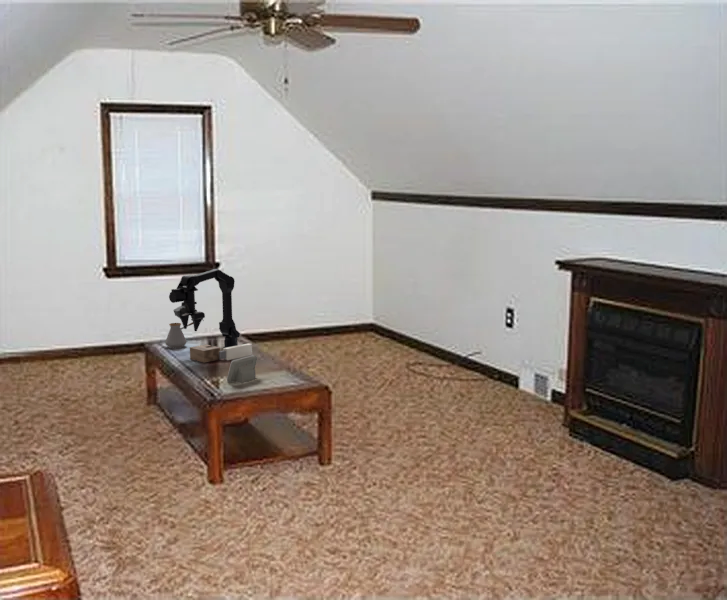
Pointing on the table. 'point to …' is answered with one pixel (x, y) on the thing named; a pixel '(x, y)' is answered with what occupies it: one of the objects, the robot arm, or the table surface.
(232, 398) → the table surface
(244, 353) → the white curved bar
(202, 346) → the tan notched block
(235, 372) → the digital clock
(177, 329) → the coffee pot
